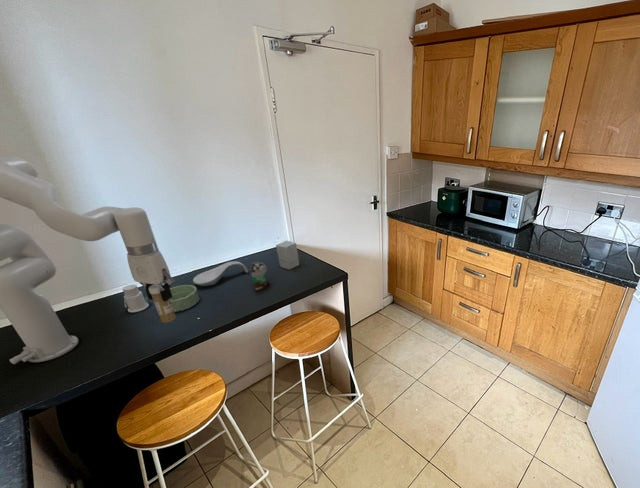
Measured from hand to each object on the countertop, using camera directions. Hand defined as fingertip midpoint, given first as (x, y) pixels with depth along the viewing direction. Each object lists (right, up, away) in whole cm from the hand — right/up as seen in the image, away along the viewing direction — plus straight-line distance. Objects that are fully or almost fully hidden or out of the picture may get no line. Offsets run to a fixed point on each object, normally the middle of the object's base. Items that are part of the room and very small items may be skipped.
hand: (160, 297), depth 105 cm
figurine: (+16, +2, +43) cm, 46 cm away
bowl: (-13, -5, +28) cm, 31 cm away
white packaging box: (+22, +11, +62) cm, 66 cm away
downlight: (-29, -7, +25) cm, 39 cm away
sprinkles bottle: (0, -8, +4) cm, 9 cm away
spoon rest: (-7, +4, +48) cm, 49 cm away
